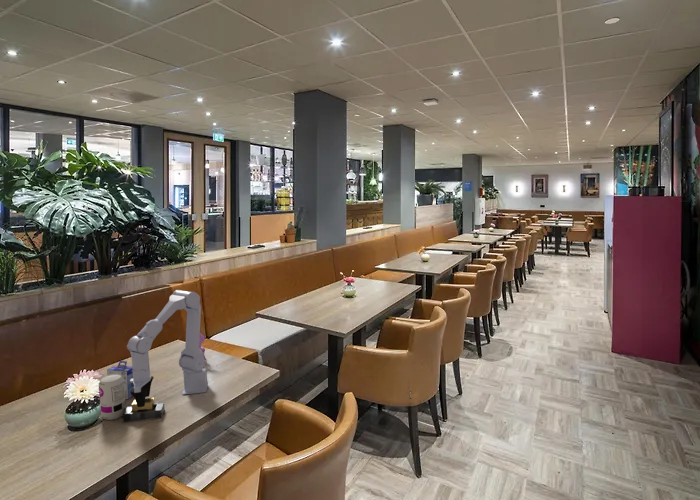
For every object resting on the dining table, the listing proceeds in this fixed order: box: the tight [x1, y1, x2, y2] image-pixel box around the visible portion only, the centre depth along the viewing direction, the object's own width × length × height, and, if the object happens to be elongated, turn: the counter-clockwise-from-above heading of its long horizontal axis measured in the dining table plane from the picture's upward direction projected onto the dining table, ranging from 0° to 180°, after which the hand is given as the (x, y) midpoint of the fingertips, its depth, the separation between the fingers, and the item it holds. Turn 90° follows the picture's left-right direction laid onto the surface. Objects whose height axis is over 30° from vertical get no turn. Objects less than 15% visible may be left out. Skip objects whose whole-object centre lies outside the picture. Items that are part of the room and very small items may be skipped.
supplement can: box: [98, 374, 127, 421], centre depth 155 cm, size 8×8×15 cm
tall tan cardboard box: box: [131, 397, 155, 413], centre depth 155 cm, size 7×4×6 cm, turn 103°
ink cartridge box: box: [106, 360, 134, 400], centre depth 171 cm, size 10×6×14 cm, turn 79°
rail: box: [122, 401, 165, 423], centre depth 156 cm, size 13×6×3 cm, turn 104°
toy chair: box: [199, 332, 207, 360], centre depth 203 cm, size 8×9×15 cm
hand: (143, 401), depth 155 cm, fingers open, 7 cm apart
